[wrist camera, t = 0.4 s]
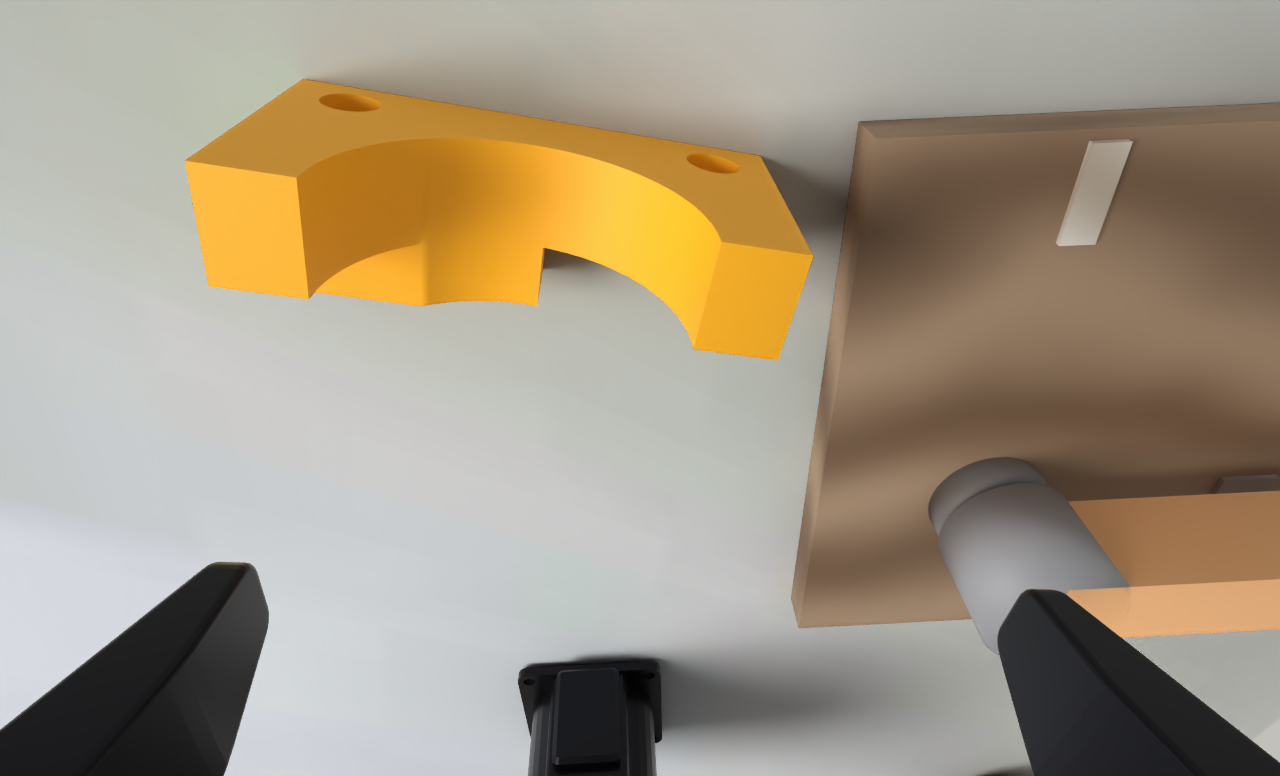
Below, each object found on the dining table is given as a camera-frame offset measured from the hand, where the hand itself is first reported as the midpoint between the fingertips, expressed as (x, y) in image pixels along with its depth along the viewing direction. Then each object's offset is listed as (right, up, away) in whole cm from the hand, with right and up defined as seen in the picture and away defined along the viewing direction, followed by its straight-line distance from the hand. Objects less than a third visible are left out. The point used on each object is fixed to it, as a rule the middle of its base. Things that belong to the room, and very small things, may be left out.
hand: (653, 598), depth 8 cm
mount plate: (+15, +2, +17) cm, 23 cm away
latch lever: (+18, -2, +16) cm, 24 cm away
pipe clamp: (-3, +8, +12) cm, 15 cm away
